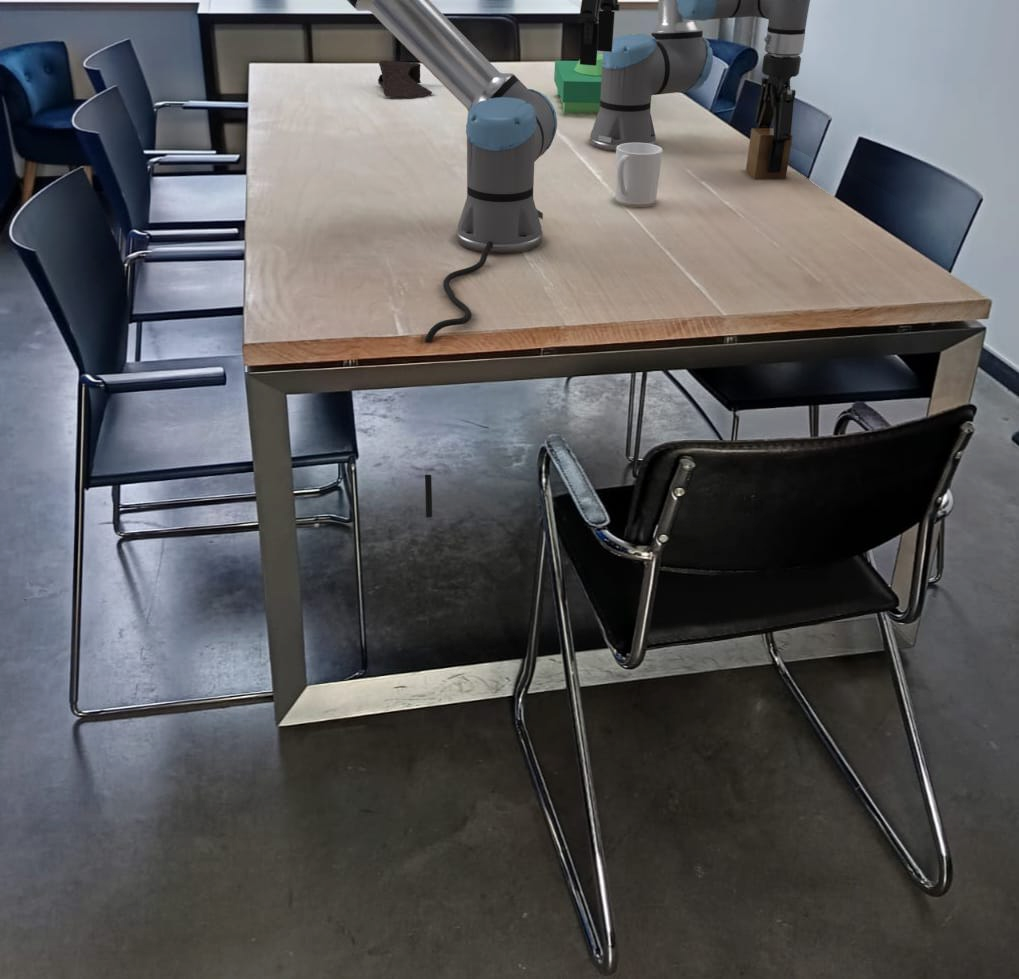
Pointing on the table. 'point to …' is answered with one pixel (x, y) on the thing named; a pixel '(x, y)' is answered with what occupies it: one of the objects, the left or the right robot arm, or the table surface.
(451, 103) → the table surface
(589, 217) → the table surface
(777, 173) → the brick
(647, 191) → the mug
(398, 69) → the axe head
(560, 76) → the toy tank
